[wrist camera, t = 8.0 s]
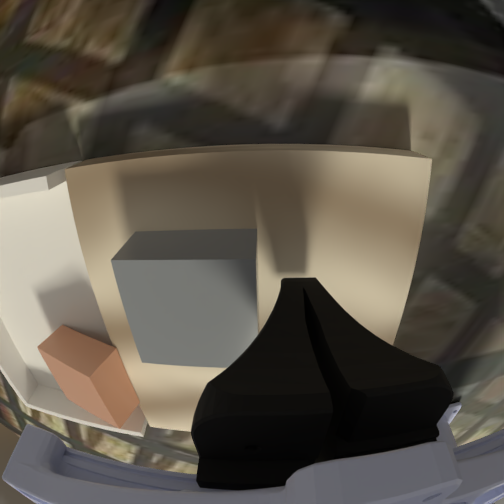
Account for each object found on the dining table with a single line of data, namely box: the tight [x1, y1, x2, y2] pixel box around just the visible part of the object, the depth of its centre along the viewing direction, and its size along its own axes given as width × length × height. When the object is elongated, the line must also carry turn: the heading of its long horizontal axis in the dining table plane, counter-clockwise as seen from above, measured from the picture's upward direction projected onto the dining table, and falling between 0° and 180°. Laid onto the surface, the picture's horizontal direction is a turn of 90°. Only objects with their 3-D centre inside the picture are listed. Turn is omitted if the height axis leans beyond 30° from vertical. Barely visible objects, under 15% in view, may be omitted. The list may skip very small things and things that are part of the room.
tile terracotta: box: [37, 325, 140, 429], centre depth 16 cm, size 5×5×2 cm
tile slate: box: [111, 229, 260, 368], centre depth 12 cm, size 5×5×2 cm
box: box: [0, 160, 148, 437], centre depth 16 cm, size 18×12×3 cm, turn 2°
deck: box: [64, 144, 432, 431], centre depth 16 cm, size 18×15×2 cm
